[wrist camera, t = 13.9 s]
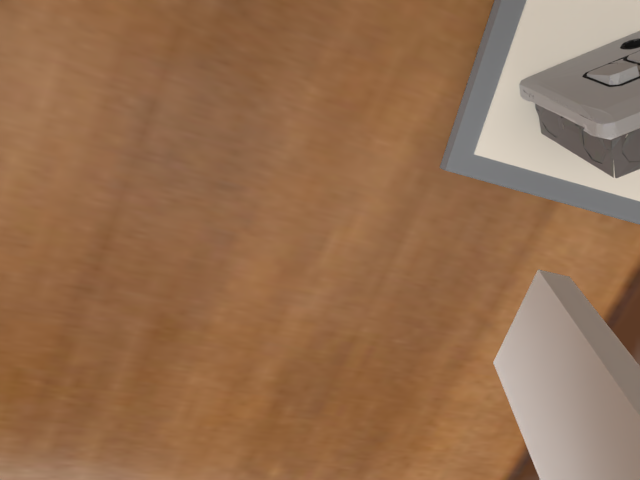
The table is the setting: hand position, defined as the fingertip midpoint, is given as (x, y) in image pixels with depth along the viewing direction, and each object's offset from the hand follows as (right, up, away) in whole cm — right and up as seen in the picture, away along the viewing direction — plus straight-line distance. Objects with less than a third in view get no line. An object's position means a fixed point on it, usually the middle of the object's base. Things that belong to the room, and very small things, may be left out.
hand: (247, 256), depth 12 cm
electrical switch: (+19, +10, +22) cm, 31 cm away
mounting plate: (+20, +10, +23) cm, 32 cm away
